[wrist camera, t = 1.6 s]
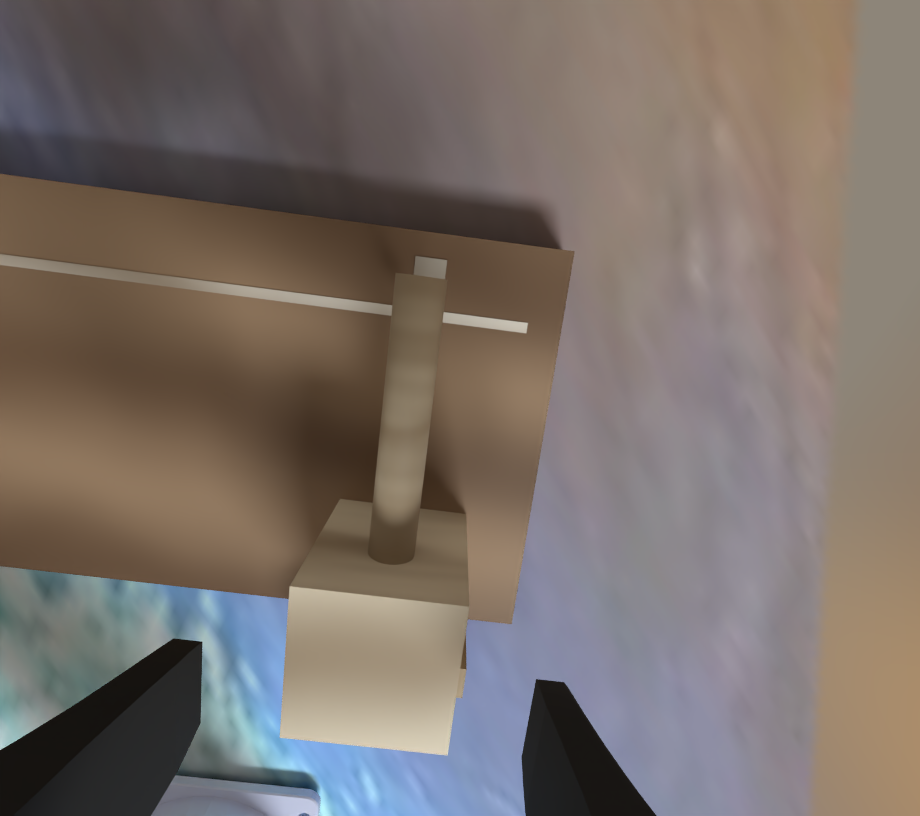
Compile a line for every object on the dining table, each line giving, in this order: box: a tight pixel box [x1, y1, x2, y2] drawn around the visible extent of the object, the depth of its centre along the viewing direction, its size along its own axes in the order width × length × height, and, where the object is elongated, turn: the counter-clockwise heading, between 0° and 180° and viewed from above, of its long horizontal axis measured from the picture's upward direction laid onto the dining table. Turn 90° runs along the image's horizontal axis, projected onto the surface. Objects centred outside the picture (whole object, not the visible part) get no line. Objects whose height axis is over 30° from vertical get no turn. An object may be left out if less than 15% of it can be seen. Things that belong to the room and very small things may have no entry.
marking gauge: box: [280, 273, 469, 755], centre depth 14 cm, size 12×5×6 cm, turn 173°
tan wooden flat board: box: [0, 174, 574, 624], centre depth 16 cm, size 12×24×2 cm, turn 83°
